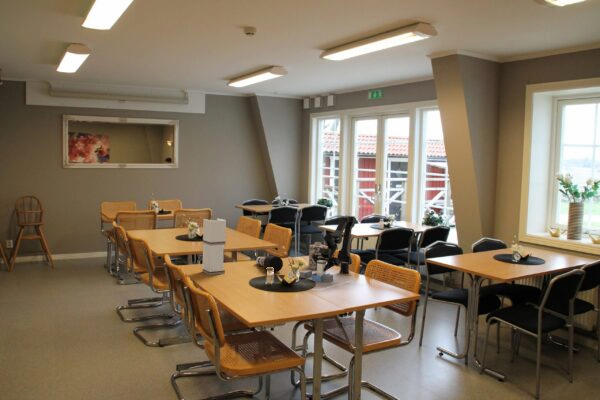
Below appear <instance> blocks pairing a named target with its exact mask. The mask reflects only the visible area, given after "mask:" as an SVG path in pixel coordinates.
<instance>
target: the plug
mask: <svg viewBox="0 0 600 400" xmlns="http://www.w3.org/2000/svg"><path fill="white" fill-rule="evenodd" d="M326 264H327V261H324V260H319V261H317V270H316V273H317V276H320V277H321V275H324V274H327V273H326V272H327V270H326V271H325V272H324V268H325V266H326Z"/></svg>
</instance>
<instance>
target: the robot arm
mask: <svg viewBox="0 0 600 400" xmlns="http://www.w3.org/2000/svg"><path fill="white" fill-rule="evenodd" d="M356 222H357V217H356V216H355V215H348V214H346V215H344V216H343V215H342V216H341V217H340V221H339V222H338V224H337V227H336V228H335V231H333V232H331V233H330V232H329V233H327V234H326V235H324V236H323V241H324V243H325V246H326V249H325V248H320V249H319V253H320V254H321V256H322V257H320V256H319V255H318V254H313V255H312V259H313V260H314V262H316V269H315V271H317V261H319V260H324V261H326V266H325V268H324V272H325V271H326V272H327V271H328V270H329V269H331V268H333V267H339V266H340V270H339V273H340V274H350V265H352V264H353V260H352V257H351V252H350V243H351V236H352V230H353V228H354V227H355V225H356ZM341 243H342V244H341ZM340 244H341V249H339V247H338V245H340ZM336 251H338V253H337V257H335V253H336Z"/></svg>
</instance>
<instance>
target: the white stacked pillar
mask: <svg viewBox="0 0 600 400" xmlns="http://www.w3.org/2000/svg"><path fill="white" fill-rule="evenodd" d="M202 224H203V226H202V227H203V228H202V232H203V233H202V273H205V274H206V275H209V276H213V275H214V276H215V275H225V272H226V270H224V254H225V253H224V248H225V247H226V237H227V235H226V234H227V233H226V230H227V228H226V227H227V226H226V225H227V220H226V219H221V218H216V220H213V219H206V218H203V221H202Z"/></svg>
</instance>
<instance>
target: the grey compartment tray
mask: <svg viewBox="0 0 600 400" xmlns="http://www.w3.org/2000/svg"><path fill="white" fill-rule="evenodd" d="M299 278H302V279H306V280H310V281H313V282H318V283H326V284H327V283H330V282H332V281H334V274H331V273H326V274H324V275H321V277H320V276H317V272H314V273H313V270H310V269H306V270H303V271H300V272H299Z"/></svg>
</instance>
